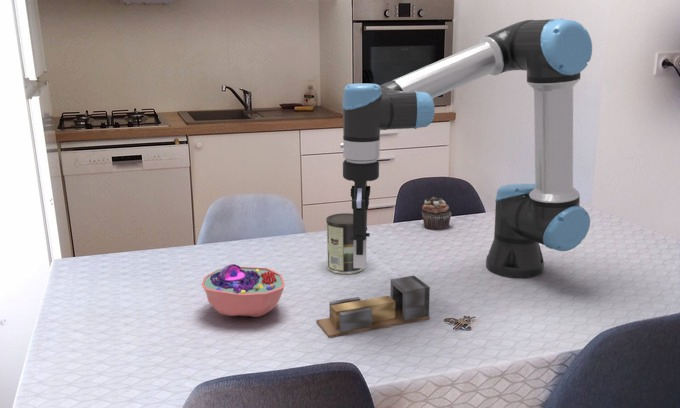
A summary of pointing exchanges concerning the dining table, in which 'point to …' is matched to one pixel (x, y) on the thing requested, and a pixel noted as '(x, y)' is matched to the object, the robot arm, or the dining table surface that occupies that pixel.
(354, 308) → the brass rectangular bar
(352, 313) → the cap board
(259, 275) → the cell model
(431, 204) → the cupcake
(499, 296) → the dining table surface
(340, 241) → the coffee can
